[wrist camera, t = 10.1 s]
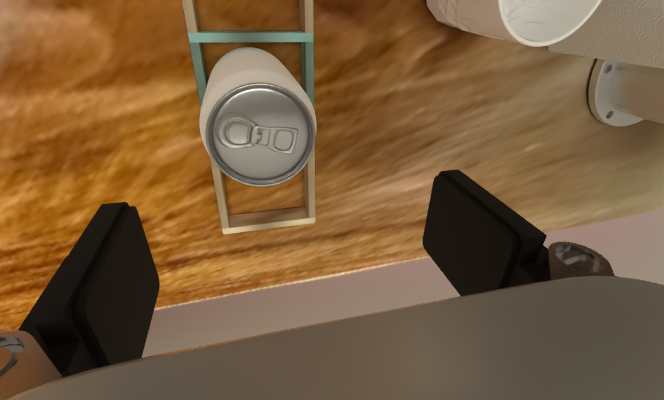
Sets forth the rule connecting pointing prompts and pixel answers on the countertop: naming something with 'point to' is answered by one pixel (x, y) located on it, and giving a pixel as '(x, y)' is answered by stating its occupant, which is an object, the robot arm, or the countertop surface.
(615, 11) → the paper towel roll
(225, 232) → the slot rack
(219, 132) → the can
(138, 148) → the countertop surface
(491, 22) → the white cup
